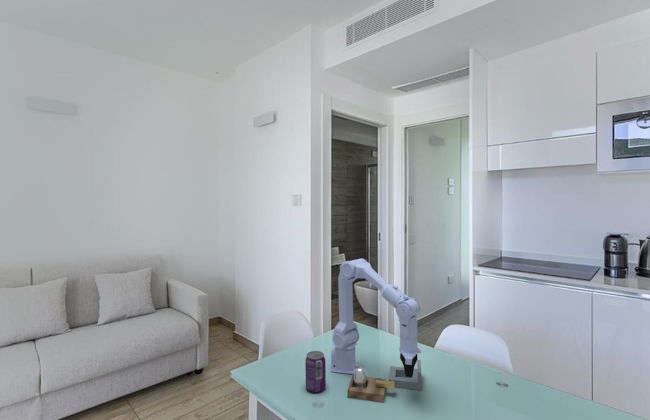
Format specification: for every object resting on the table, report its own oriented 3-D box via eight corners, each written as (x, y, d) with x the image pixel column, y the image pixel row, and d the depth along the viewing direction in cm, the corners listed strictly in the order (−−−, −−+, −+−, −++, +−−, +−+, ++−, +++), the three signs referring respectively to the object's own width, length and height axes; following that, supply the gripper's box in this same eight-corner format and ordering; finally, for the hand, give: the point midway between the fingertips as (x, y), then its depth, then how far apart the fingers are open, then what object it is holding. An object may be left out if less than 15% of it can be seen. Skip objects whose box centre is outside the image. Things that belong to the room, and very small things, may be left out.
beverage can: (328, 384, 120) (328, 351, 119) (321, 395, 113) (321, 360, 113) (310, 381, 122) (309, 349, 122) (302, 391, 115) (302, 357, 115)
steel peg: (353, 393, 114) (353, 370, 114) (355, 387, 118) (355, 364, 118) (365, 394, 113) (364, 371, 113) (366, 388, 117) (366, 365, 117)
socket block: (347, 397, 111) (347, 390, 111) (352, 381, 121) (352, 375, 121) (383, 402, 108) (383, 394, 108) (385, 386, 118) (385, 379, 118)
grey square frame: (388, 386, 118) (388, 369, 118) (390, 372, 128) (390, 356, 127) (421, 390, 115) (421, 373, 115) (420, 375, 125) (420, 360, 125)
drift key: (375, 387, 113) (375, 383, 113) (376, 382, 115) (376, 379, 115) (394, 389, 111) (394, 385, 111) (394, 384, 114) (394, 381, 114)
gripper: (421, 345, 103) (422, 389, 103) (420, 328, 117) (420, 366, 117) (398, 343, 105) (398, 386, 105) (399, 327, 119) (400, 364, 119)
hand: (409, 376), depth 111 cm, fingers closed
